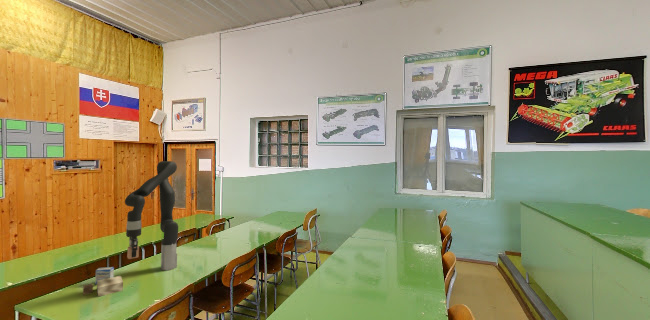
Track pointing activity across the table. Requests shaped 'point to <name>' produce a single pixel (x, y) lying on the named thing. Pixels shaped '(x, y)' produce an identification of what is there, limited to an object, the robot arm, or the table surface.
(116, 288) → the birch block
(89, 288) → the walnut block
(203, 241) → the table surface
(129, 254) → the terracotta block
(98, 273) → the medicine box
